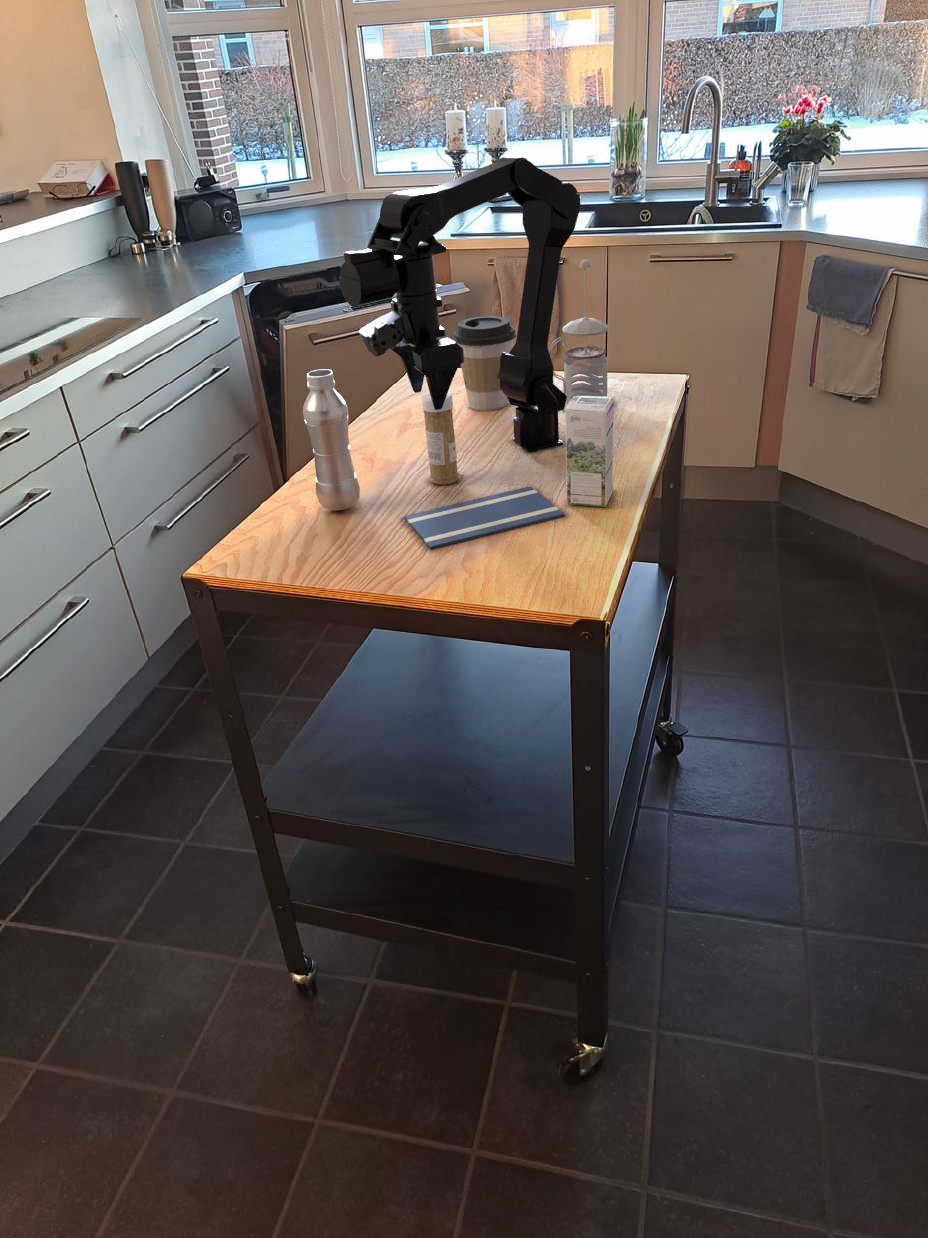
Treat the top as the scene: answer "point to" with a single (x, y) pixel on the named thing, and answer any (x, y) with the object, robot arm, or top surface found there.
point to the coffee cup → (484, 358)
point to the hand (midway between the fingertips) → (427, 400)
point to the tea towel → (482, 517)
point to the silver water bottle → (330, 442)
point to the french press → (584, 356)
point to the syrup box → (589, 450)
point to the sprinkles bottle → (440, 441)
